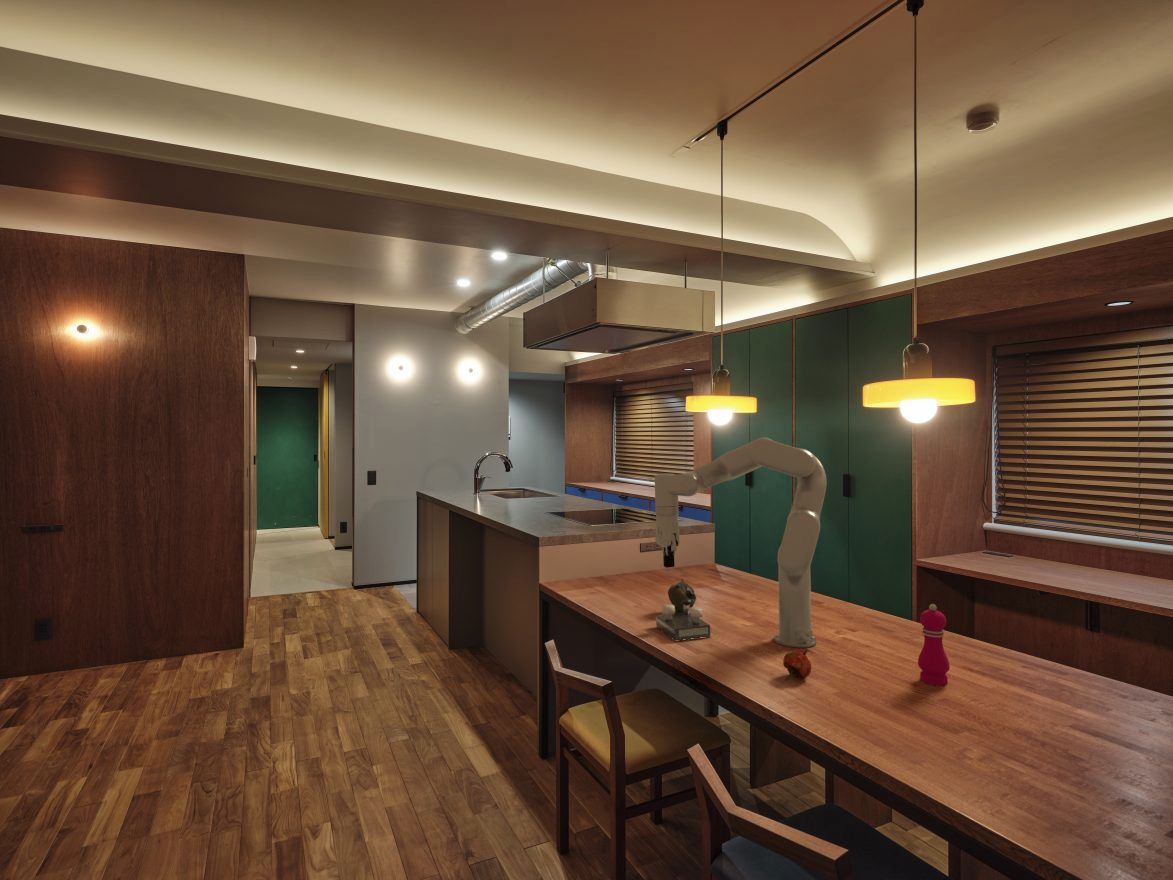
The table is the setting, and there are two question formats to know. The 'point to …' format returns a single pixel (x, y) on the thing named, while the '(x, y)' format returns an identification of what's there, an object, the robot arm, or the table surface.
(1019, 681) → the table surface
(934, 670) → the pepper mill
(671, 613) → the knob
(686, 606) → the dark brown round knob
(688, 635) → the mount
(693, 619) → the knob
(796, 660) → the red round fruit
